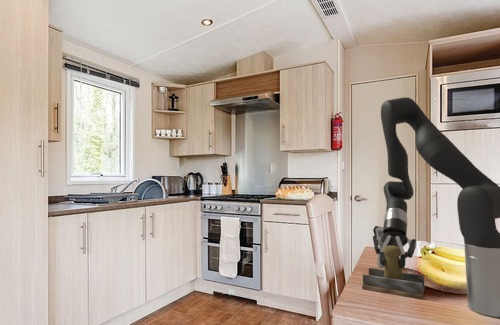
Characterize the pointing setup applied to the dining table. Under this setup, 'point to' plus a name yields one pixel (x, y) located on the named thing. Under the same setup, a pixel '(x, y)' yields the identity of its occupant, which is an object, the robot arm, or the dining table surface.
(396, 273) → the olive waisted cylinder
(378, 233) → the coffeepot
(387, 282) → the walnut track
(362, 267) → the dining table surface
